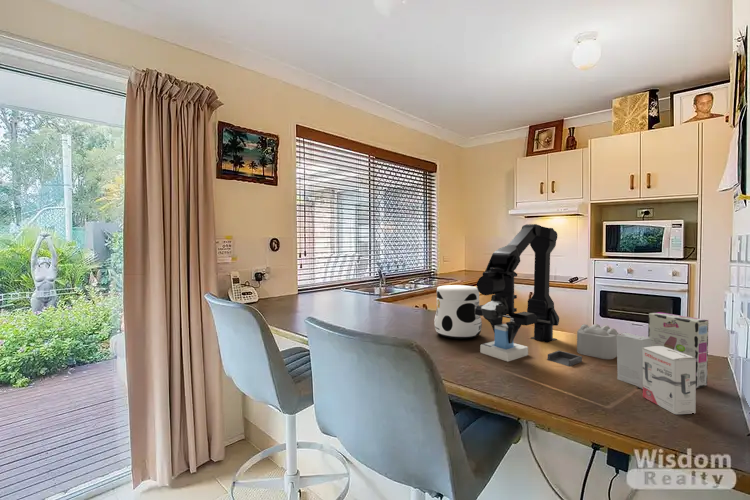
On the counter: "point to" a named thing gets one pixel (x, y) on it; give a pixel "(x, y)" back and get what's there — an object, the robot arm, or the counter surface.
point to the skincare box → (631, 358)
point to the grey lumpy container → (597, 341)
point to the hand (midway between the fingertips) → (504, 341)
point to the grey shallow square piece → (564, 358)
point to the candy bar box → (682, 338)
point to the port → (504, 351)
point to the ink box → (669, 379)
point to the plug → (502, 337)
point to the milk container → (457, 312)
